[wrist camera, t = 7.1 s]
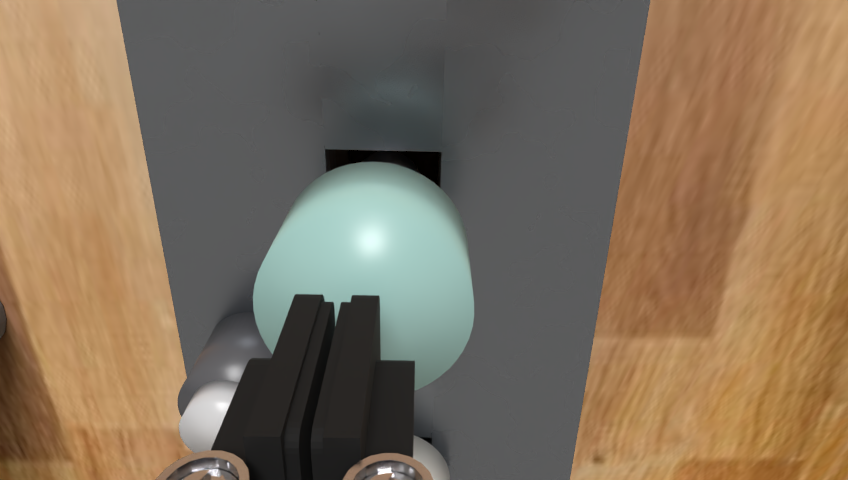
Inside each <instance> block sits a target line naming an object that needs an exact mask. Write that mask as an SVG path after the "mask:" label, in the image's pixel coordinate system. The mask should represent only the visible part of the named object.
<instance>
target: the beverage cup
mask: <svg viewBox="0 0 848 480" xmlns="http://www.w3.org/2000/svg"><path fill="white" fill-rule="evenodd" d="M6 320H7V319H6V315H5V312H4V308H3V305H2V303H1V302H0V339H1V337H2V336H3V334H4V333H5V328H6Z"/></svg>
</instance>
